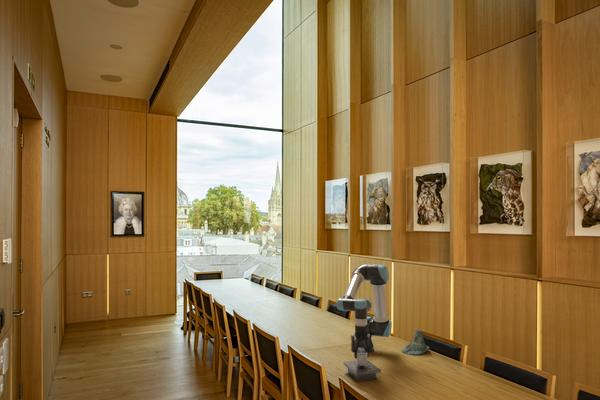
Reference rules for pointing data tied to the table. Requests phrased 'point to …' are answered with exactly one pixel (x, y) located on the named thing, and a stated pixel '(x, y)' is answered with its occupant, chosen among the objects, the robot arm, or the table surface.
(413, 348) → the tree stump
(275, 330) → the table surface
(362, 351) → the medicine box
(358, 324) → the robot arm
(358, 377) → the display plinth
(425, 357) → the table surface
